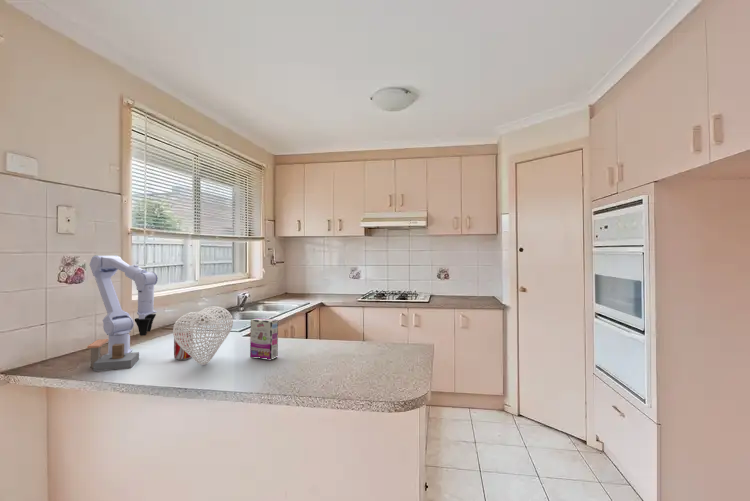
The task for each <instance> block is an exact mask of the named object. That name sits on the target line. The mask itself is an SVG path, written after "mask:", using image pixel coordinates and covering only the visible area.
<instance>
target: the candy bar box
mask: <svg viewBox="0 0 750 501" xmlns="http://www.w3.org/2000/svg"><path fill="white" fill-rule="evenodd" d="M278 334H279V320H278V319H271V318H258V317H257V318H254V319H253V318H252V319H250V335H249V336H250V338H249V339H250V341H249V342H250V343H249V344H250V346H249V347H250V350H249V351H250V352H249V356H250V357H260V358H267V359H272V358H274V357H276V356H278V353H279V352H278V349H279V348H278V347H279V345H278V344H279V335H278Z"/></svg>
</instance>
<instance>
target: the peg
mask: <svg viewBox="0 0 750 501" xmlns="http://www.w3.org/2000/svg"><path fill="white" fill-rule="evenodd" d="M123 357H124V343H122V344H114V345H113V346H112V359H120V358H123Z"/></svg>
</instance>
